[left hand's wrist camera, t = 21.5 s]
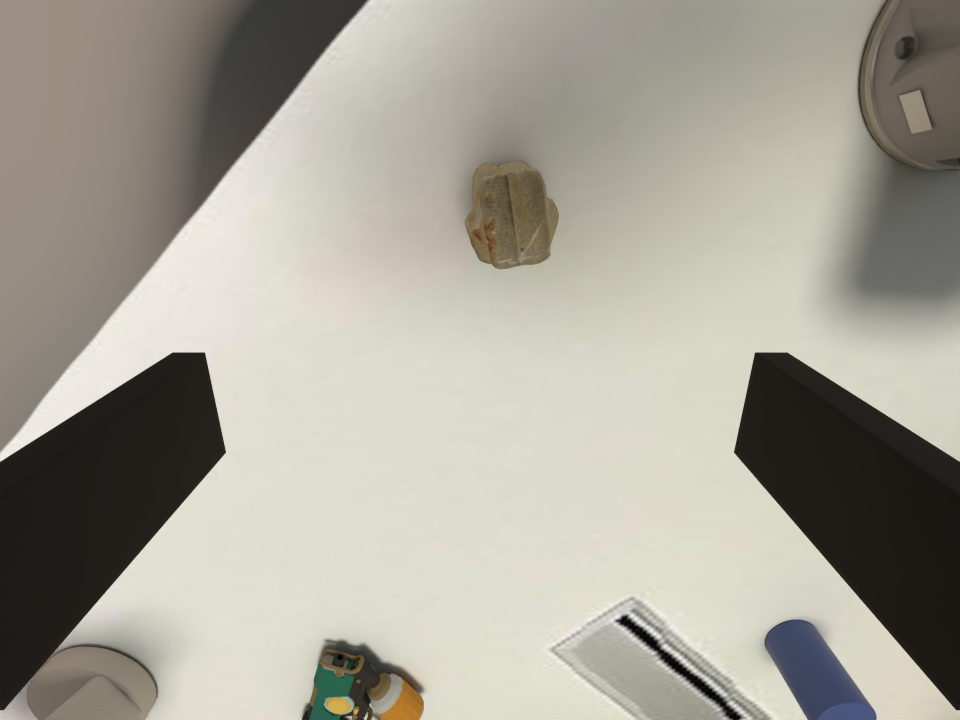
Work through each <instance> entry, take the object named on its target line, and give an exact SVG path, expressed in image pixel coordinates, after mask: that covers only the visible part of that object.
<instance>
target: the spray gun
mask: <svg viewBox="0 0 960 720" xmlns="http://www.w3.org/2000/svg"><path fill="white" fill-rule="evenodd" d="M325 653H332V654H335V656H330V655H325V656H324V654H325ZM348 658H349V660H348V661H347V659H348ZM352 659H353V660H359V659H360V661H357V662H356V663H355V664H354V662H353V660H352ZM314 684H315V687H314V690H313V693H312V697H311V700H310V705H311V706H310V709H309V710H308V711H306V712H305V714H304V715H303V717H302V720H342V719H341V718H340V717H341V716H352V720H364V719H363V718H364V717H365V715H366V712H367V711H368V712H369V713H368V718H367V720H371V719H372V712H373V710H372V708H371V707H370V706H369V704H370V700H371V705H372V707H373V709H374V711H375V712H376V713H377V714H378V715H379V716H380V717H381V718H382V719H383V720H420V718H421V716H422V714H423V710H424V702H423V699H422V697H421V696H420V695H419V694H418V693H417V692H416V691H415V690H414V689H413V688H412V687H411V686H410V685H409V684H408V683H406V682H405V681H404V680H403V679H402V678H401V677H399V676H397V675H395V674H387V673H381V674H379V675H378V674H377V672H376V671H375V670H374V669H373V668H372V667H371V666H370V665H369V664H368V663H367V661H366V660H364V657H363V656H362V655H358V656H353V655H350V654H347V653H343V652H340V651H336V650H333V649H325V650H324V651H323V652H322V655H321V658H320V661H319V664H318V668H317V671H316V674H315V677H314ZM367 687H368V688H369V692H368V694H369V696H368V694H367V692H366V691H365V690H366V688H367ZM369 697H370V698H371V699H370V698H369ZM356 716H357V718H356Z"/></svg>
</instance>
